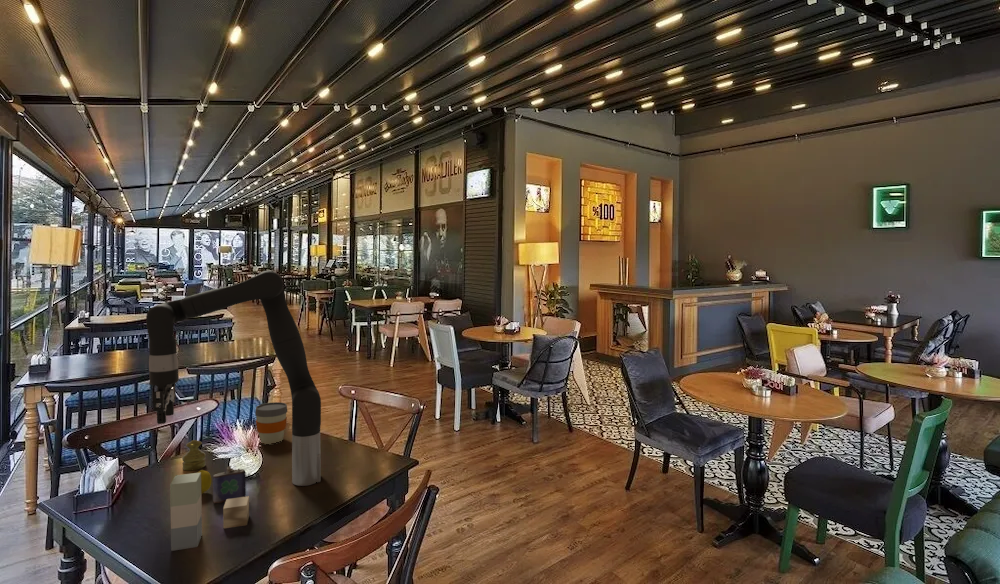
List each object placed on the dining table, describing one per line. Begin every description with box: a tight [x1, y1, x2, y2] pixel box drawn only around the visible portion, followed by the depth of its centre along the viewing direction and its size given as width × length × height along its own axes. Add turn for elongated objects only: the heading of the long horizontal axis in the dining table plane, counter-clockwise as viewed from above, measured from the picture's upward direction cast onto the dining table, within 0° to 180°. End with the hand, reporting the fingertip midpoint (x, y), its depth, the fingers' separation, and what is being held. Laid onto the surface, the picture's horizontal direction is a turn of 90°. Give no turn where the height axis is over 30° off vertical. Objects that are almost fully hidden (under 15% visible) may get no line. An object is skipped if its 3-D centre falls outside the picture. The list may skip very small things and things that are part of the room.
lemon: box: [196, 469, 213, 495], centre depth 163 cm, size 6×6×8 cm
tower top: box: [169, 472, 202, 508], centre depth 134 cm, size 6×6×6 cm
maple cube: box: [222, 495, 250, 529], centre depth 146 cm, size 6×6×6 cm
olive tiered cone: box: [181, 439, 207, 472], centre depth 184 cm, size 7×7×10 cm
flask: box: [212, 465, 247, 504], centre depth 160 cm, size 9×3×11 cm, turn 121°
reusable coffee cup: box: [254, 401, 288, 445], centre depth 212 cm, size 12×13×15 cm
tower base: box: [170, 514, 203, 552], centre depth 135 cm, size 6×6×6 cm
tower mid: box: [170, 494, 203, 530], centre depth 135 cm, size 6×6×6 cm
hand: (165, 419), depth 156 cm, fingers open, 8 cm apart
